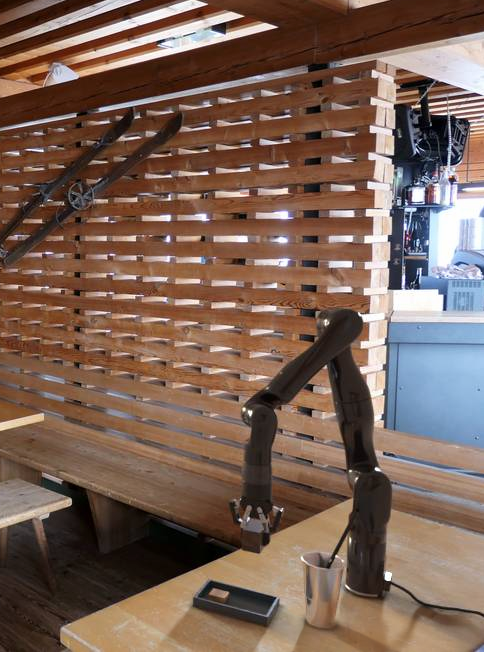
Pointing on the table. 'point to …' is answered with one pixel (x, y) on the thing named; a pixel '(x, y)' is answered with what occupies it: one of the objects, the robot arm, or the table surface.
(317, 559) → the metal cup with straw
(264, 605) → the tray
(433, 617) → the table surface
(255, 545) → the brown long rectangular block
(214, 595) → the copper square block
